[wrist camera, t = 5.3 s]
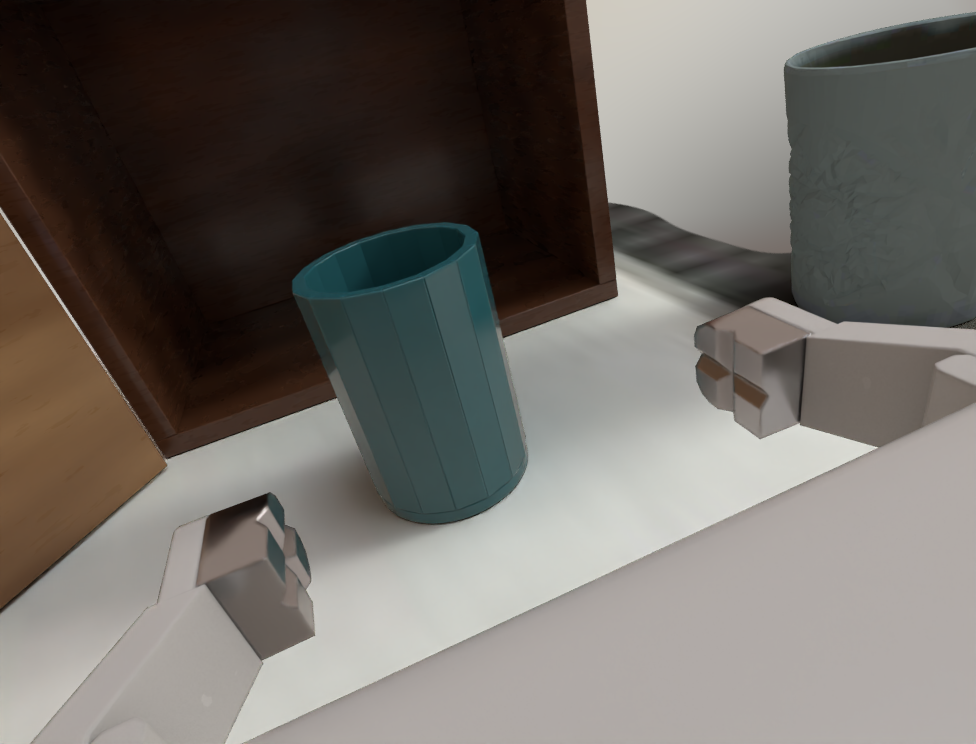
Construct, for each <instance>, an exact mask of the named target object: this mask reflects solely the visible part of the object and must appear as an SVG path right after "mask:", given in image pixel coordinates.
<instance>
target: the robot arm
mask: <svg viewBox="0 0 976 744" xmlns="http://www.w3.org/2000/svg"><path fill="white" fill-rule="evenodd" d="M694 344H695V347H696V348H697V349H698V350H699V351H700V352H701V353H702V354H701V356H700V358H699V360H698V362H697V364H696V366H695V367H696V379H697V383H698V385H699V388H700V390H701V392H702V394H703V395H704V397H705V398H706V399H707V400H708V402H709V403H711V404H712V405H713V406H715V407H716V408H717V409H721V410H726V411H731V412H733V414H734V421H735V422H737V423H738V424H740V425H741V426H742V427H744V428H745V429H747V430H748V431H749V432H751V433H752V434H754V435H755V436H756V437H758V438H759V439H762V438H764V437H767V436H769V435H772V434H774V433H777V432H779V431H781V430H784V429H786V428H789V427H791V426H794V425H796V424H799V423H800V425H802V426H805V427H809V428H812V429H816V430H819V431H823V432H826V433H830V434H833V435H837V436H840V437H844V438H847V439H851V440H854V441H858V442H861V443H865V444H868V445H872V446H875V447H879V448H877V449H875V450H873V451H871V452H869V453H867V454H865V455H862V456H860V457H858V458H856V459H854V460H852V461H849V462H847V463H845V464H843V465H841V466H839V467H836V468H834V469H832V470H830V471H828V472H826V473H823V474H821V475H819V476H817V477H815V478H813V479H810V480H808V481H806V482H804V483H802V484H800V485H797V486H795V487H793V488H791V489H789V490H787V491H784V492H782V493H780V494H778V495H776V496H774V497H771V498H769V499H767V500H765V501H763V502H761V503H758V504H756V505H754V506H752V507H750V508H748V509H745V510H743V511H741V512H739V513H737V514H735V515H733V516H730V517H728V518H726V519H724V520H722V521H720V522H717V523H715V524H713V525H711V526H709V527H707V528H704V529H702V530H700V531H698V532H696V533H694V534H692V535H689V536H687V537H685V538H683V539H681V540H679V541H676V542H674V543H672V544H670V545H668V546H666V547H664V548H661V549H659V550H657V551H655V552H653V553H651V554H649V555H646V556H644V557H642V558H640V559H638V560H636V561H634V562H631V563H629V564H627V565H625V566H623V567H621V568H619V569H616V570H614V571H612V572H610V573H608V574H606V575H604V576H601V577H599V578H597V579H595V580H593V581H591V582H588V583H586V584H584V585H582V586H580V587H578V588H576V589H573V590H571V591H569V592H567V593H565V594H563V595H561V596H558V597H556V598H554V599H552V600H550V601H548V602H546V603H543V604H541V605H539V606H537V607H535V608H533V609H531V610H528V611H526V612H524V613H522V614H520V615H518V616H515V617H513V618H511V619H509V620H507V621H505V622H503V623H500V624H498V625H496V626H494V627H492V628H490V629H487V630H485V631H483V632H481V633H479V634H477V635H475V636H472V637H470V638H468V639H466V640H464V641H462V642H460V643H457V644H455V645H453V646H451V647H449V648H447V649H444V650H442V651H440V652H438V653H436V654H434V655H432V656H429V657H427V658H425V659H423V660H421V661H419V662H416V663H414V664H412V665H410V666H408V667H406V668H404V669H401V670H399V671H397V672H395V673H393V674H391V675H389V676H386V677H384V678H382V679H380V680H378V681H376V682H373V683H371V684H369V685H367V686H365V687H363V688H361V689H358V690H356V691H354V692H352V693H350V694H348V695H345V696H343V697H341V698H339V699H337V700H335V701H333V702H330V703H328V704H326V705H324V706H322V707H320V708H318V709H315V710H313V711H311V712H309V713H307V714H305V715H302V716H300V717H298V718H296V719H294V720H292V721H290V722H287V723H285V724H283V725H281V726H279V727H277V728H274V729H272V730H270V731H268V732H266V733H264V734H262V735H259V736H257V737H255V738H253V739H251V740H249V741H246V742H244V743H242V744H976V330H974V329H958V328H942V327H926V326H910V325H894V324H878V323H862V322H846V321H844V322H841V323H839V324H836V323H834V322H831V321H829V320H826V319H824V318H821V317H819V316H817V315H814V314H812V313H809V312H807V311H805V310H802V309H800V308H797V307H795V306H792V305H790V304H788V303H785V302H783V301H780V300H778V299H776V298H762V299H760V300H758V301H756V302H753V303H751V304H749V305H746V306H744V307H742V308H740V309H738V310H736V311H733V312H731V313H728V314H726V315H723V316H721V317H719V318H716V319H714V320H711V321H709V322H706V323H704V324H702V325H699V326H697V328H696V331H695V334H694ZM310 583H311V573H310V566H309V562H308V558H307V554H306V551H305V548H304V546H303V544H302V541H301V539H300V537H299V535H298V534H297V532H296V530H295V529H294V528H292V527H289V526H287V525H285V522H284V509H283V507H282V506H281V504H280V502H279V501H278V499H277V497H276V496H275V495H274V494H272V493H271V492H270V493H267V494H264V495H261V496H259V497H256V498H253V499H251V500H248V501H245V502H243V503H240V504H237V505H234V506H232V507H229V508H226V509H224V510H221V511H218V512H215V513H213V514H211V515H210V516H204V517H202V518H199V519H197V520H194V521H192V522H189V523H187V524H184V525H182V526H179V527H178V528H177V529H176V530H175V531H174V533H173V537H172V541H171V545H170V549H169V554H168V558H167V562H166V567H165V571H164V575H163V579H162V584H161V588H160V592H159V596H158V601H157V604H155V605H152V606H150V607H148V608H146V609H145V610H144V612H143V613H142V614H141V615H140V616H139V617H138V619H137V620H136V621H135V622H134V623H133V624H132V626H131V627H130V628H129V629H128V630H127V631H126V633H125V634H124V635H123V636H122V637H121V638H120V640H119V641H118V642H117V643H116V644H115V645H114V647H113V648H112V649H111V650H110V651H109V652H108V654H107V655H106V656H105V657H104V658H103V659H102V661H101V662H100V663H99V664H98V665H97V666H96V668H95V669H94V670H93V671H92V672H91V673H90V675H89V676H88V677H87V678H86V679H85V680H84V682H83V683H82V684H81V685H80V686H79V687H78V689H77V690H76V691H75V692H74V693H73V694H72V696H71V697H70V698H69V699H68V700H67V701H66V703H65V704H64V705H63V706H62V707H61V708H60V709H59V711H58V712H57V713H56V714H55V715H54V716H53V718H52V719H51V720H50V721H49V722H48V723H47V725H46V726H45V727H44V728H43V729H42V730H41V732H40V733H39V734H38V735H37V736H36V737H35V739H34V740H33V741H32V742H31V743H30V744H225V742H226V739H227V737H228V735H229V733H230V731H231V729H232V727H233V725H234V723H235V721H236V719H237V716H238V714H239V712H240V710H241V708H242V706H243V704H244V702H245V700H246V698H247V696H248V693H249V691H250V689H251V687H252V685H253V683H254V681H255V679H256V677H257V675H258V673H259V670H260V668H261V666H262V664H263V663H262V660H264V659H266V658H268V657H271V656H273V655H275V654H277V653H279V652H281V651H283V650H285V649H287V648H290V647H292V646H294V645H296V644H298V643H300V642H302V641H304V640H307V639H309V638H311V637H313V636H315V628H314V613H313V602H312V600H311V598H310V597H309V595H308V593H307V591H306V589H307V588H308V586H309V584H310Z"/></svg>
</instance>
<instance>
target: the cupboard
mask: <svg viewBox="0 0 976 744" xmlns="http://www.w3.org/2000/svg"><path fill="white" fill-rule="evenodd" d="M0 207H1V209H2V210H3V212H4V213H5V215H6V217H7V218H8V220H9V221H10V223H11V224H12V225H13V227H14V228H15V230H16V232H17V233H18V234H19V236H20V238H21V239H22V241H23V242H24V244H25V245H26V247H27V248H28V250H29V251H30V253H31V254H32V256H33V257H34V259H35V261H36V262H37V263H38V265H39V267H40V268H41V270H42V271H43V273H44V274H45V276H46V277H47V279H48V280H49V282H50V283H51V285H52V286H53V288H54V289H55V291H56V292H57V294H58V295H59V297H60V298H61V300H62V301H63V303H64V305H65V306H66V308H67V309H68V311H69V312H70V314H71V315H72V317H73V318H74V320H75V321H76V323H77V324H78V326H79V327H80V329H81V330H82V332H83V333H84V335H85V336H86V338H87V339H88V341H89V342H90V344H91V345H92V347H93V349H94V350H95V352H96V353H97V355H98V356H99V358H100V359H101V361H102V362H103V364H104V365H105V367H106V368H107V370H108V371H109V373H110V374H111V376H112V377H113V379H114V380H115V382H116V383H117V385H118V386H119V388H120V389H121V391H122V393H123V394H124V396H125V397H126V399H127V400H128V402H129V403H130V405H131V406H132V408H133V409H134V411H135V412H136V414H137V415H138V417H139V418H140V420H141V421H142V423H143V424H144V426H145V427H146V429H147V430H148V432H149V433H150V435H151V437H152V438H153V440H154V441H156V444H157V446H158V447H159V449H160V450H161V452H162V453H163V455H164V456H165V458H169V457H171V456H174V455H177V454H180V453H183V452H185V451H188V450H191V449H194V448H196V447H199V446H202V445H205V444H208V443H210V442H213V441H216V440H219V439H221V438H224V437H227V436H230V435H233V434H235V433H238V432H241V431H244V430H246V429H249V428H252V427H255V426H258V425H260V424H263V423H266V422H269V421H271V420H274V419H277V418H280V417H283V416H285V415H288V414H291V413H294V412H296V411H299V410H302V409H305V408H308V407H310V406H313V405H316V404H319V403H321V402H324V401H327V400H330V399H333V398H335V397H337V396H336V394H335V391H334V389H333V387H332V384H331V382H330V380H329V377H328V375H327V373H326V370H325V368H324V366H323V363H322V361H321V359H320V356H319V354H318V352H317V349H316V347H315V345H314V342H313V340H312V337H311V335H310V333H309V330H308V328H307V326H306V323H305V321H304V319H303V316H302V314H301V312H300V309H299V307H298V305H297V302H296V300H295V298H294V295H293V293H292V280H293V279H294V278H295V277H296V276H297V275H298V273H299V272H300V271H301V270H302V269H303V268H304V267H305V266H307V265H309V264H310V263H312V262H313V261H315V260H317V259H318V258H320V257H322V256H323V255H325V254H326V253H328V252H331V251H333V250H335V249H338V248H340V247H342V246H345V245H347V244H349V243H351V242H354V241H357V240H359V239H363V238H366V237H369V236H372V235H375V234H379V233H382V232H385V231H389V230H394V229H399V228H404V227H408V226H413V225H419V224H431V223H443V222H445V223H455V224H463V225H468V226H469V227H471V228H472V229H474V230H475V231H476V232H478V234H479V238H480V242H481V246H482V251H483V255H484V259H485V263H486V268H487V272H488V276H489V281H490V285H491V289H492V294H493V298H494V302H495V307H496V311H497V315H498V319H499V324H500V328H501V332H502V337H505V336H508V335H510V334H513V333H516V332H519V331H521V330H524V329H527V328H530V327H533V326H535V325H538V324H541V323H544V322H546V321H549V320H552V319H555V318H558V317H560V316H563V315H566V314H569V313H571V312H574V311H577V310H580V309H583V308H585V307H588V306H591V305H594V304H596V303H599V302H602V301H605V300H608V299H610V298H613V297H616V296H618V291H617V282H616V272H615V262H614V253H613V244H612V235H611V226H610V217H609V208H608V198H607V190H606V181H605V171H604V162H603V153H602V144H601V135H600V125H599V116H598V107H597V99H596V88H595V79H594V70H593V61H592V53H591V43H590V33H589V24H588V15H587V7H586V0H0Z"/></svg>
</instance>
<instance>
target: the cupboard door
mask: <svg viewBox="0 0 976 744" xmlns="http://www.w3.org/2000/svg"><path fill="white" fill-rule="evenodd" d="M166 466H167V464H166V462H165V461H164V459H163V458H162V456H161V455H160V453H159V452H158V450H157V449H156V447H155V446H154V444H153V443H152V441H151V440H150V438H149V437H148V435H147V434H146V432H145V431H144V429H143V428H142V426H141V425H140V423H139V422H138V420H137V419H136V417H135V416H134V414H133V413H132V411H131V410H130V408H129V407H128V405H127V404H126V402H125V401H124V399H123V398H122V396H121V395H120V393H119V392H118V390H117V389H116V387H115V386H114V384H113V382H112V381H111V379H110V378H109V376H108V375H107V373H106V372H105V370H104V369H103V367H102V366H101V364H100V363H99V361H98V360H97V358H96V357H95V355H94V354H93V352H92V351H91V349H90V348H89V346H88V345H87V343H86V342H85V340H84V339H83V337H82V336H81V334H80V333H79V331H78V330H77V328H76V327H75V325H74V324H73V322H72V321H71V319H70V318H69V316H68V315H67V313H66V312H65V310H64V309H63V307H62V306H61V304H60V303H59V301H58V300H57V298H56V296H55V295H54V294H53V292H52V290H51V289H50V287H49V286H48V284H47V283H46V282H45V280H44V278H43V277H42V275H41V274H40V272H39V271H38V269H37V268H36V266H35V265H34V263H33V262H32V260H31V259H30V257H29V256H28V254H27V253H26V251H25V250H24V248H23V247H22V245H21V244H20V242H19V241H18V239H17V238H16V237H15V235H14V233H13V232H12V230H11V229H10V227H9V226H8V224H7V223H6V221H5V220H4V218H3V217H2V215H1V213H0V609H1V608H2V607H3V606H4V605H5V604H7V603H8V602H9V601H10V600H11V599H12V598H14V597H15V596H16V595H17V594H18V593H19V592H21V591H22V590H23V589H24V588H25V587H26V586H28V585H29V584H30V583H31V582H32V581H33V580H35V579H36V578H37V577H38V576H39V575H40V574H42V573H43V572H44V571H45V570H46V569H47V568H49V567H50V566H51V565H52V564H53V563H54V562H56V561H57V560H58V559H59V558H60V557H61V556H63V555H64V554H65V553H66V552H67V551H68V550H70V549H71V548H72V547H73V546H74V545H75V544H77V543H78V542H79V541H80V540H81V539H82V538H84V537H85V536H86V535H87V534H88V533H89V532H91V531H92V530H93V529H94V528H95V527H96V526H98V525H99V524H100V523H101V522H102V521H103V520H105V519H106V518H107V517H108V516H109V515H110V514H112V513H113V512H114V511H115V510H116V509H117V508H119V507H120V506H121V505H122V504H123V503H124V502H126V501H127V500H128V499H129V498H130V497H131V496H133V495H134V494H135V493H136V492H137V491H138V490H140V489H141V488H142V487H143V486H144V485H145V484H147V483H148V482H149V481H150V480H151V479H152V478H154V477H155V476H156V475H157V474H158V473H159V472H160V471H162V470H163V469H164V468H165V467H166Z"/></svg>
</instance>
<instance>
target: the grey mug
mask: <svg viewBox="0 0 976 744" xmlns="http://www.w3.org/2000/svg"><path fill="white" fill-rule="evenodd" d="M784 81H785V97H786V114H787V119H788V137H789V143H790V146H791V148H792V150H791V153H790V155H791V158H790V161H789V173H790V174H791V176H790V178H789V187H790V188H789V193H790V197H791V200H790V203H789V205H790V211H791V212H790V216H791V220H792V221H791V223H790V229H791V246H792V256H791V278H792V294H793V297H794V299H795V302H796V303H797V305H798V306H799V308H801V309H802V310H805V311H807V312H809V313H812V314H814V315H817V316H819V317H821V318H824V319H826V320H829V321H831V322H834V323H836V324H839V323H841V322H844V321H846V322H862V323H878V324H894V325H910V326H926V327H942V328H947V327H951V326H955V325H958V324H961V323H964V322H967V321H969V320H972V319H974V318H975V317H976V12H972V13H965V14H958V15H952V16H945V17H939V18H933V19H927V20H921V21H916V22H910V23H905V24H900V25H895V26H890V27H885V28H880V29H876V30H872V31H868V32H863V33H859V34H856V35H852V36H848V37H845V38H840V39H837V40H834V41H831V42H827V43H824V44H821V45H818V46H815V47H812V48H809V49H807V50H804V51H802V52H800V53H797V54H796V55H794V56H793V57H792V58H790V59H788V60H787V62H786V63H785V67H784Z"/></svg>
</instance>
